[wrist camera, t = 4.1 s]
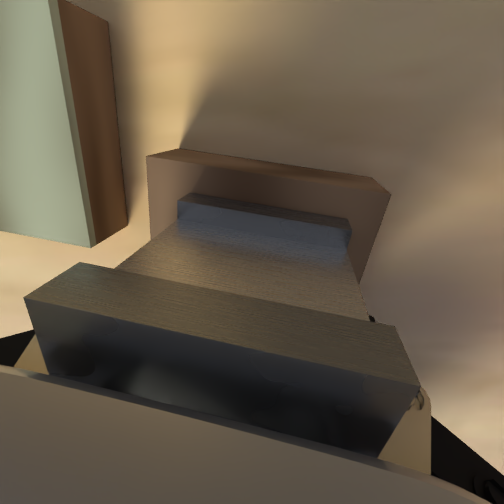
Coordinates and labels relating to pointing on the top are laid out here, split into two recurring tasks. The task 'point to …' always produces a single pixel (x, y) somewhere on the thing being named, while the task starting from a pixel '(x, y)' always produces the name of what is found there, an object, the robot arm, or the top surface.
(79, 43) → the stand
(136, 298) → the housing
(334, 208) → the stand
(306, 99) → the top surface
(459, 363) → the top surface
